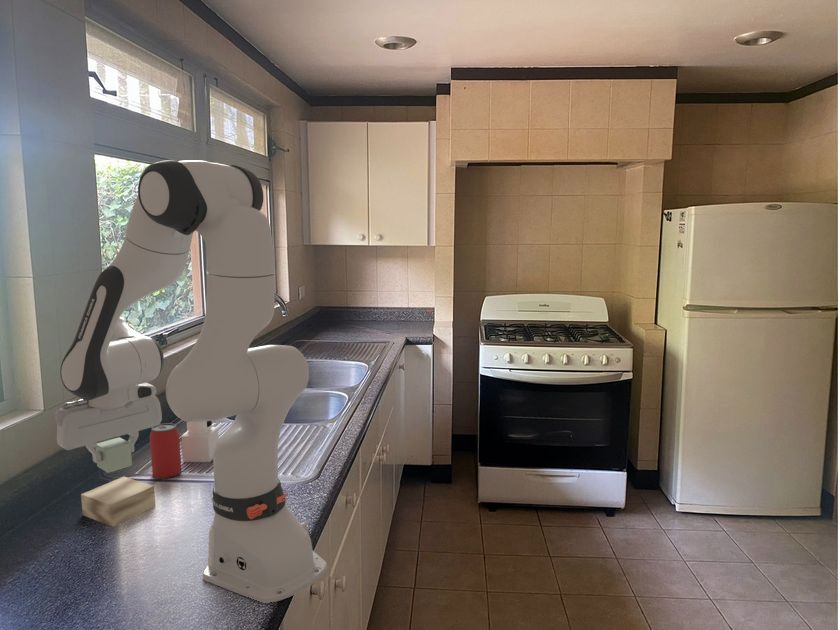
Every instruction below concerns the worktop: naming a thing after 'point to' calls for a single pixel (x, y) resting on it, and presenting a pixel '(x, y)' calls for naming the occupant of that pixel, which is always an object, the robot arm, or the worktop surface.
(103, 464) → the sage block
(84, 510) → the birch block
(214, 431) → the medicine bottle
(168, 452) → the beer can
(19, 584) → the worktop surface
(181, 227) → the robot arm
